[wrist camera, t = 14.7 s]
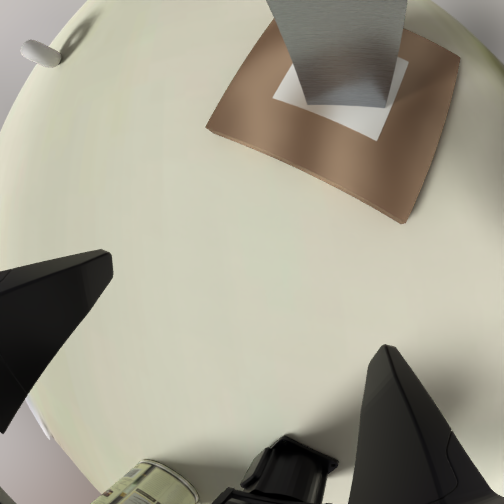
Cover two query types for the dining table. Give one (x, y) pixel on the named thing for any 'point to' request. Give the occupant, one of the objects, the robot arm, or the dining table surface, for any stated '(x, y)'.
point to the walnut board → (344, 122)
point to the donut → (40, 54)
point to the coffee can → (150, 487)
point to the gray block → (342, 47)
